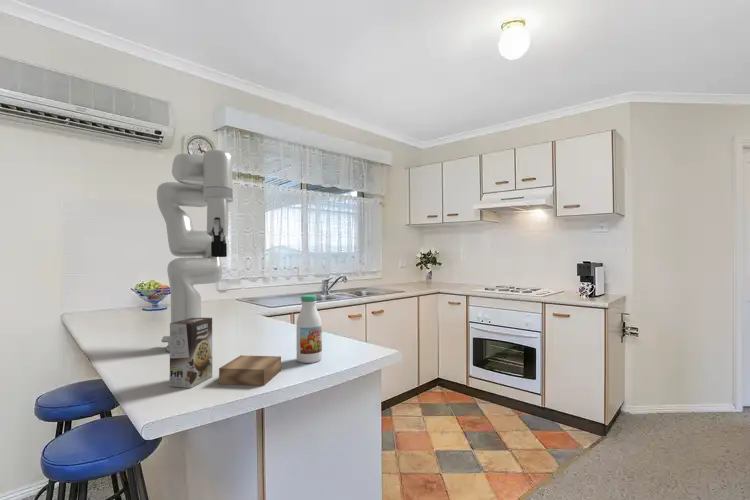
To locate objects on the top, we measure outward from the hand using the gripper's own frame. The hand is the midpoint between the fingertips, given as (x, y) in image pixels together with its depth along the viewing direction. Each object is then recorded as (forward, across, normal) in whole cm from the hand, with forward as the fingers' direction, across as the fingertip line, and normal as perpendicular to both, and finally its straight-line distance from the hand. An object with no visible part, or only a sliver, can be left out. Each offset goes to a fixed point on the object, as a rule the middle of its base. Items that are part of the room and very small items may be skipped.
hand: (219, 256), depth 108 cm
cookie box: (+33, +5, -7) cm, 34 cm away
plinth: (+33, +6, +8) cm, 34 cm away
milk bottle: (+33, -5, +25) cm, 41 cm away
